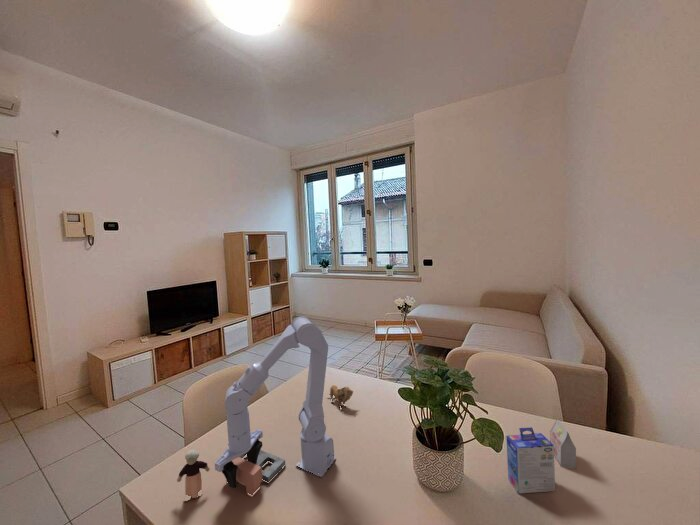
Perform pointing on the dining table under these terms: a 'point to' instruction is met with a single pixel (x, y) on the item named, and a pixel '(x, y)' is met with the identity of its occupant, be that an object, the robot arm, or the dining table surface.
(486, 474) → the dining table surface
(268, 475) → the slotted metal plate
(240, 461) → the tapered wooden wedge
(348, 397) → the lion figurine
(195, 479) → the grandmother figurine
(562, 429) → the white gable-top carton
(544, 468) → the ink cartridge box
